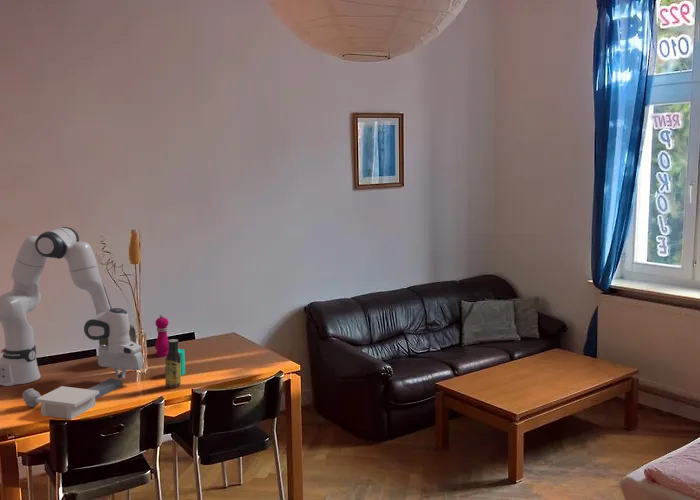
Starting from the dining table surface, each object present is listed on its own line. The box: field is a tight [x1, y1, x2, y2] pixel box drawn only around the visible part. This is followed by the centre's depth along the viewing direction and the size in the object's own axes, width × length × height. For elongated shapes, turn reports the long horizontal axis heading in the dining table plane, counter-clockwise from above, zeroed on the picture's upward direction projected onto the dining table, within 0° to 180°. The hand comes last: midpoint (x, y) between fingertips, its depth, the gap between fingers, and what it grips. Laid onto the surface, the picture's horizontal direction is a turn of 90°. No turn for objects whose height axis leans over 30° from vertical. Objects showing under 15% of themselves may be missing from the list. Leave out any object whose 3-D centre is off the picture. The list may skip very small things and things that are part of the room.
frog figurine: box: [21, 388, 42, 408], centre depth 256 cm, size 6×7×7 cm
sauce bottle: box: [164, 338, 182, 389], centre depth 278 cm, size 7×6×20 cm
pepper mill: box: [154, 314, 170, 357], centre depth 320 cm, size 7×7×20 cm
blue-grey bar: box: [88, 377, 124, 400], centre depth 272 cm, size 18×6×3 cm, turn 160°
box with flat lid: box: [36, 385, 99, 420], centre depth 252 cm, size 17×14×6 cm
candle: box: [178, 348, 186, 376], centre depth 294 cm, size 6×6×12 cm
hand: (121, 377), depth 284 cm, fingers closed
